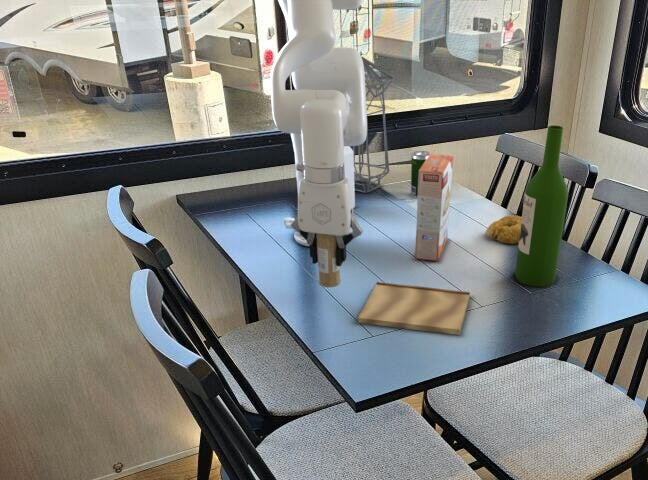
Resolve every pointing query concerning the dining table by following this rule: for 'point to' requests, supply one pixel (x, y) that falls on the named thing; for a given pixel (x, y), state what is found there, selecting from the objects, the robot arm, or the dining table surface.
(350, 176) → the milk carton
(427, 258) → the cracker box
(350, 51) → the robot arm
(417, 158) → the beer can
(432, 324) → the board
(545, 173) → the wine bottle
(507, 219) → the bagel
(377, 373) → the dining table surface
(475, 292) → the dining table surface
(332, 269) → the sprinkles bottle
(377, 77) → the geometric lantern
